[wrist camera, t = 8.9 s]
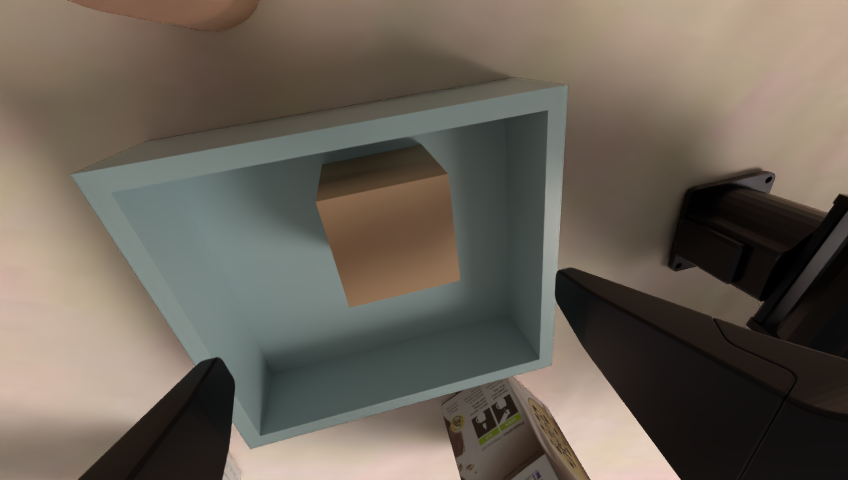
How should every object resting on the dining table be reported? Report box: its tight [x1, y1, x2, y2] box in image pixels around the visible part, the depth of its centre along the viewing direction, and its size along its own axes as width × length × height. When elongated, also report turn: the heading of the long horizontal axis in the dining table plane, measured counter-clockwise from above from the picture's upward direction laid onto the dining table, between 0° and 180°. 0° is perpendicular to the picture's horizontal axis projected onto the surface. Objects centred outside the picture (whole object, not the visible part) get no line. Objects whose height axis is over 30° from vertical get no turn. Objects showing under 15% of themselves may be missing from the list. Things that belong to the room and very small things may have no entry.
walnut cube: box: [316, 145, 460, 308], centre depth 16 cm, size 5×5×5 cm
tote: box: [71, 77, 568, 449], centre depth 18 cm, size 18×16×5 cm
